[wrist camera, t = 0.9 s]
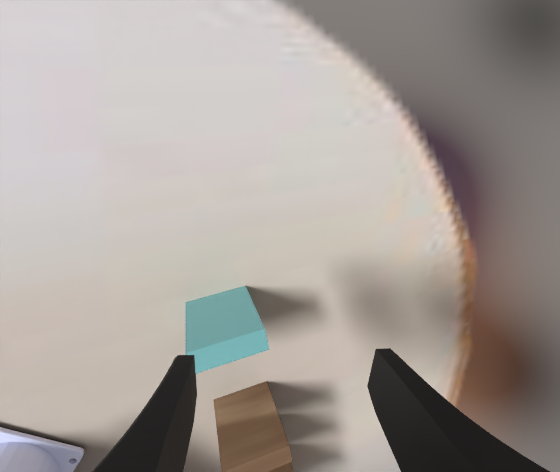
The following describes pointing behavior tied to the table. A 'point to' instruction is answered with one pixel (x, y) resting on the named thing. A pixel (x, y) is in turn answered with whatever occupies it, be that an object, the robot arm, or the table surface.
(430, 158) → the table surface
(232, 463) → the domino
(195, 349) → the teal domino
